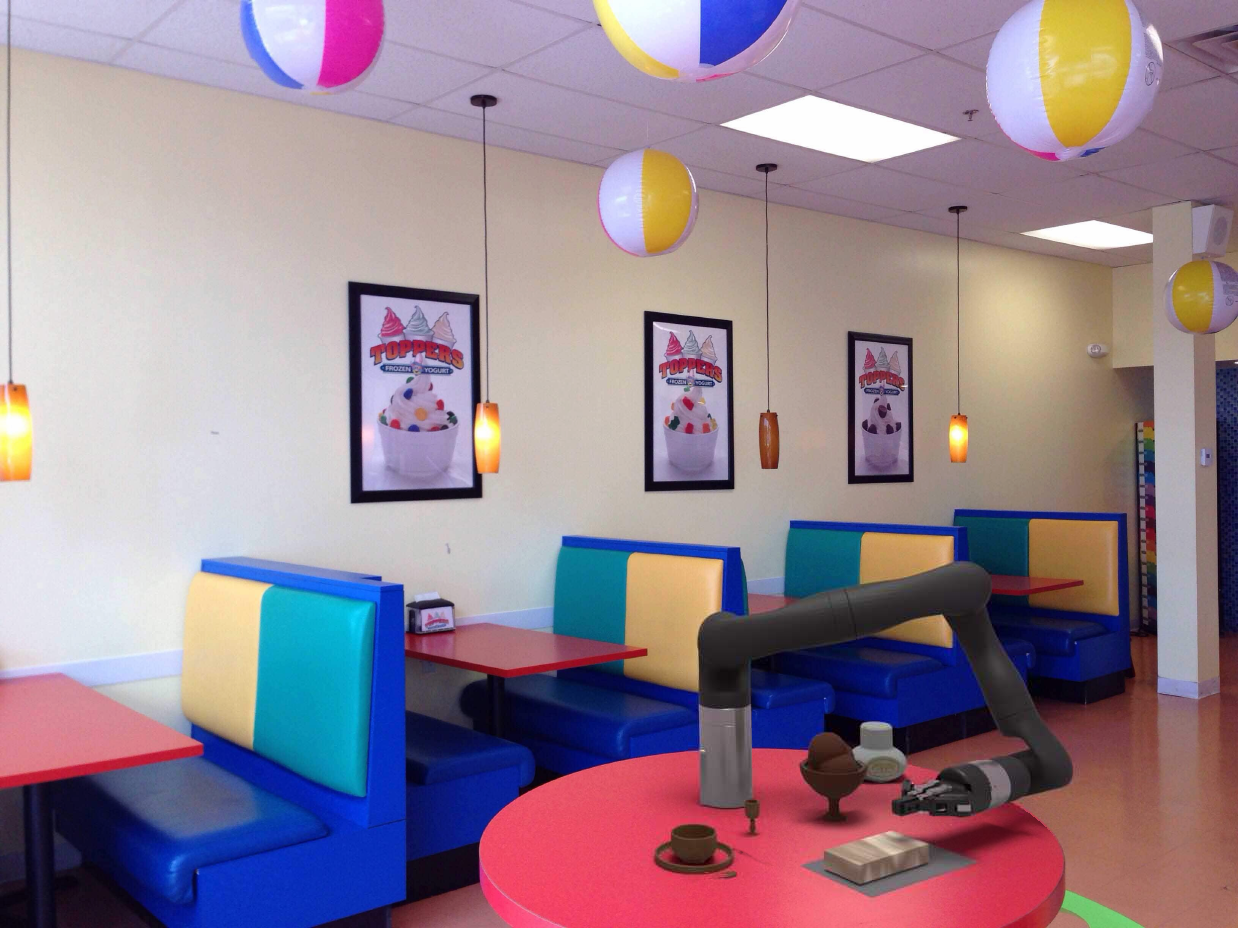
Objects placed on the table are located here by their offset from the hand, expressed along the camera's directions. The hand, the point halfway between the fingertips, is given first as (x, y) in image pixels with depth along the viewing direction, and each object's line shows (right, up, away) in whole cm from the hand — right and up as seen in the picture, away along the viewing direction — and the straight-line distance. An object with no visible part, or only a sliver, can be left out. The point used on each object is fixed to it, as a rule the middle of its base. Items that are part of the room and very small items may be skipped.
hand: (895, 808), depth 150 cm
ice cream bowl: (-5, -9, +20) cm, 22 cm away
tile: (+3, -6, +2) cm, 7 cm away
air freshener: (+8, -9, +44) cm, 46 cm away
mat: (-1, -8, -1) cm, 9 cm away
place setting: (-25, -10, +6) cm, 28 cm away
